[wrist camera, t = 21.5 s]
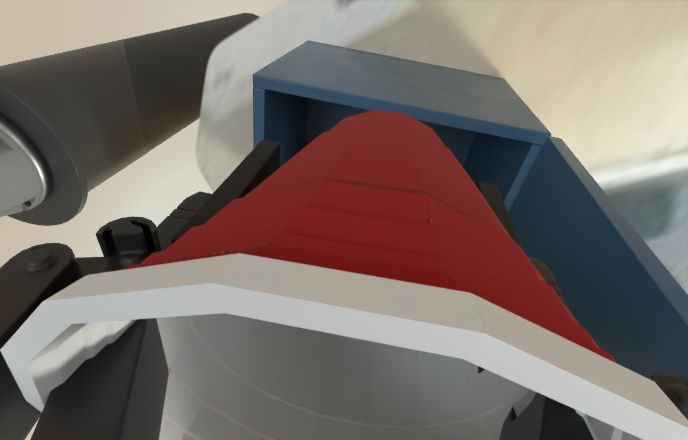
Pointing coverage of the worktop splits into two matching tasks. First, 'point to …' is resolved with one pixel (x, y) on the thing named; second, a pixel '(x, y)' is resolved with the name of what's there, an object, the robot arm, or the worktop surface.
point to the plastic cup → (348, 310)
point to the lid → (601, 265)
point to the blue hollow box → (399, 108)
